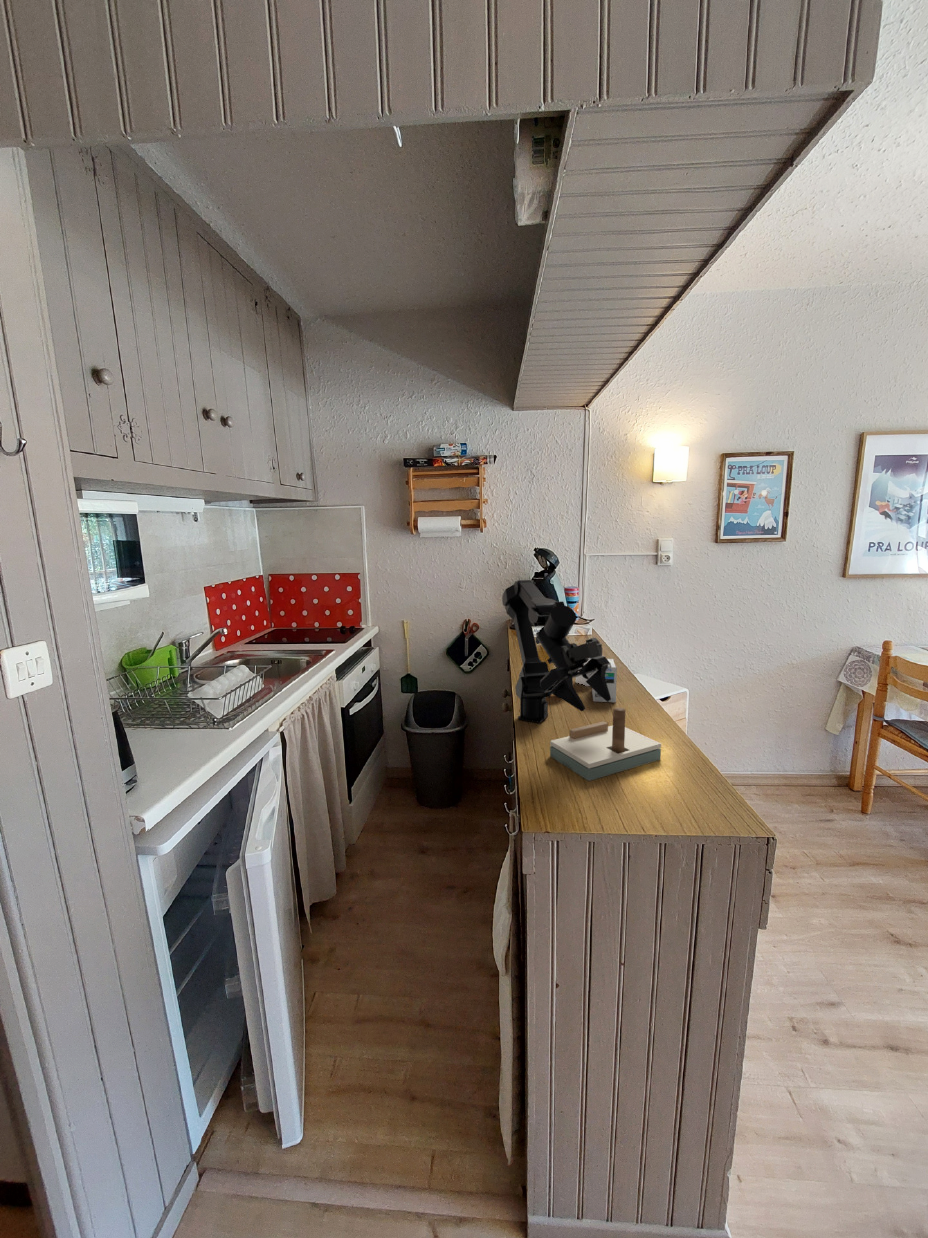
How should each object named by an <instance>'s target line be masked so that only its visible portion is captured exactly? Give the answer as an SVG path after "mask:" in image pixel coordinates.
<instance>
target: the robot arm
mask: <svg viewBox="0 0 928 1238" xmlns="http://www.w3.org/2000/svg"><path fill="white" fill-rule="evenodd" d="M501 601H502V606H503V607H504V608H505V612H506V614H507V616H509V617H510V618H511V619H512V620H513V624H514V628H515V633H516V634H515V635H516V638H517V644H518V647H519V653H520V657H521V661H522V663H521V664H522V667H521V669H520V672H519V674H518V680H517V681H516V684H515V688H514V690H515V695H516V696H517V697H518V698H519V702H520V704H519V705H520V706H519V708H520V709H519V710H520V711H519V713H520V714H519V715H518V716H517V720H521V721H526V722H530V723H531V722H532V723H537V724H541V723H542V722H543V721H544V720H545V719H546V718H548V716H549V712H548V711H549V708H548V707H549V704H548V703H549V702H548V701H547V698H551V696H552V695H553V696H555V697H557V698H559V699H560V700H562V701H564V702H566V703H567V704H569V705H571V706H572V707H574V708H575V709H577V710H579V711H581V712H584V711H585V710H586V707H585V705H584V703H583V701H582V699H581V697H580V696H579V694H578V692H577V690H576V689H575V687H574V682H573V679H574V678H576V677H578V676H581V675H582V676H583V677H584V678H585V679H588V680H587V681H586V683H588V684H589V685H590V686H589V687H590V688H591V689H592V688H593V689H594V690H595V691H596V692H597V693H598V694H599V695H600V696H601V697H602V698H603V699H605V700H606V701H607V702H606V703H609V702H608V701H610V700H611V697H610V693H609V690H608V687H607V683H606V679H605V673H606V670H607V669H608V665H609V664H610V663H609V661H608V660H607V659H608V658H607V657H606V656H604V655H603V656H598V657H594V658H592V659H590V660H589V659H588V658H589V657H592V656H594V655H600V650H601V649H602V650H603V645H602V643H601V642H600V640H598V639H597V638H596V637H590V638H589V639H586V640H585V642H584V643H583V644H579V645H577V643H575V642H573V643H571V642H570V641H569V640H568V638H567V637H568V635H569V634H570V632H571V630H572V628H573V626H574V625H575V623H576V621H577V614H576V612H575V611H574V610H573V609H572V608H571V607H569V606H568V605H565V603H564V602H565V601H563V600H562V601H556V600H555V599H552V598H547V597H546V596H544V595H543V594H542V592H541V591H540V590H539V588H538V587H537V586H536V584H535V581H534V580H531V579H522V580H521V579H518V580H516V581H514V584H512V585H511V586H508V587H507V588H505V590H504V592H503V593H502V598H501ZM533 627H541V628H540V629H539V631H537V632H536V633H535V634H536V637H535V634H534V630H533V629H534V628H533ZM538 644H540V645H541V647H542V648H543V649H544V651H545V653H546V655H547V656H548V659H547V661H542V660H540V657H539V651H538V648H537V645H538ZM588 660H589V661H588ZM587 661H588V662H587ZM586 662H587V663H586ZM584 663H586V664H585V665H584ZM548 664H549V665H552V664H553V665H554V666H555V668H552V669H549V667H548ZM578 671H579V672H578Z"/></svg>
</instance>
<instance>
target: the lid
mask: <svg viewBox="0 0 928 1238" xmlns="http://www.w3.org/2000/svg"><path fill="white" fill-rule="evenodd" d="M612 731H613V724H612V725H609V723H608V722H606V721H600V722H595V723H592V724H587V725H583V726H580V727H575V728H571V729H569V735H568V736H564V737H561V738H555V739H551V740H550V741H549V743H550V744H549V746H553V747H554V748H556V749H558V750H559V751H561V752H563V753H564V754H566V755H568V756H569V757H571V758H572V759H574V760H576V761H577V762H579V763H581V764H582V765H584V766H586V767H587V768H593V767H596V766H600V765H603V764H607V763H610V762H614V761H617V760H621V759H624V758H628V757H631V756H634V755H638V754H641V753H645V752H648V751H652V750H655V749H659V748H660V749H661V748H662V743H661V742H658V741H657V740H654V739H652V738H650V737H647V736H646V735H643V734H641V733H639V732H637V731H635V730H633V729H631V728H628V727H626V726H625V741H624V752H622V753H619V754H617V753H615V752H613V751H612Z"/></svg>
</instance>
